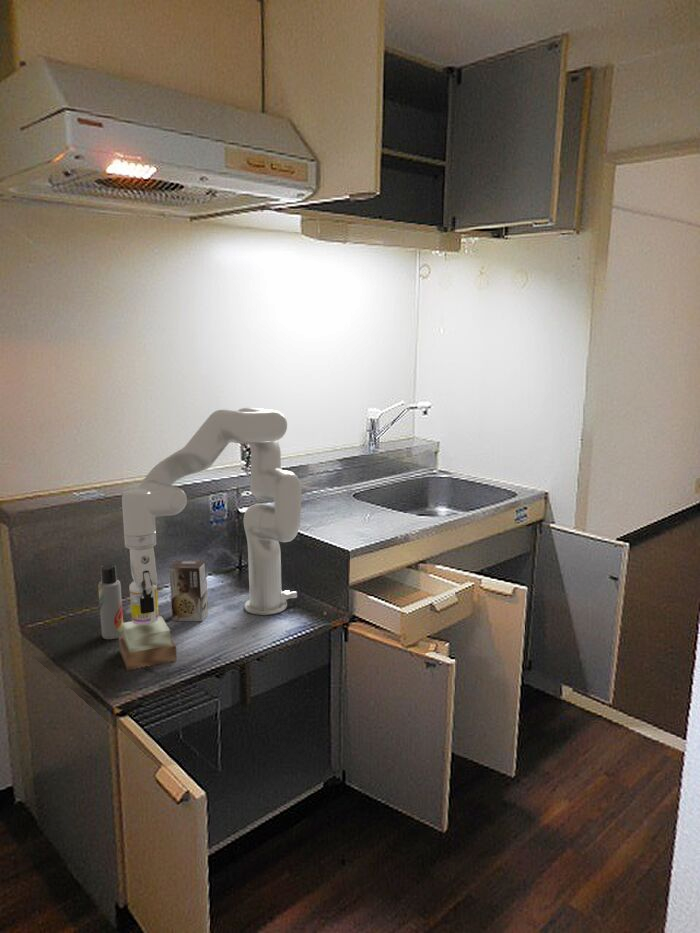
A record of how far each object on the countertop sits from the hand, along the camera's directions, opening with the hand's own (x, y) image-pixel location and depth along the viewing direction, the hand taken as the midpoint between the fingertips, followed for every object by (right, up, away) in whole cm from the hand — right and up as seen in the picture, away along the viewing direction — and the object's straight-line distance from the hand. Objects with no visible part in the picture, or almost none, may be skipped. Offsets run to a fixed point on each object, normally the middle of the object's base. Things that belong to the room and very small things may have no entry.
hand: (144, 606), depth 183 cm
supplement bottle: (0, -4, +1) cm, 4 cm away
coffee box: (+6, -8, +27) cm, 29 cm away
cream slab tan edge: (0, -13, +3) cm, 13 cm away
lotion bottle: (-13, -11, +15) cm, 23 cm away
